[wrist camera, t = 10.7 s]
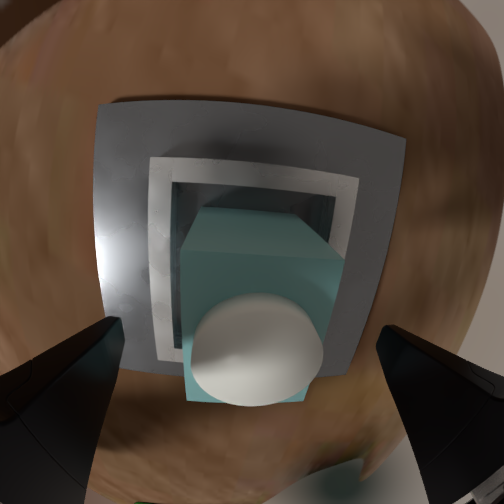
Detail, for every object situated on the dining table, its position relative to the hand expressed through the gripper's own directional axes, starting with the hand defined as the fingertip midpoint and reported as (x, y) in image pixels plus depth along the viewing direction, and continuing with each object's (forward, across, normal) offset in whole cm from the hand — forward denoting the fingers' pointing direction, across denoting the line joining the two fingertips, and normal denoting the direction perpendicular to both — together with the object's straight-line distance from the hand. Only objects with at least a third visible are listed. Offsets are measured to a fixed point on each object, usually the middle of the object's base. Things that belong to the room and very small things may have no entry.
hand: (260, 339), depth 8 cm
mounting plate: (+7, 0, 0) cm, 7 cm away
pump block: (+6, 0, 0) cm, 6 cm away
